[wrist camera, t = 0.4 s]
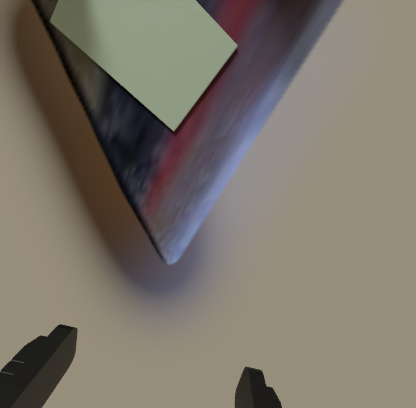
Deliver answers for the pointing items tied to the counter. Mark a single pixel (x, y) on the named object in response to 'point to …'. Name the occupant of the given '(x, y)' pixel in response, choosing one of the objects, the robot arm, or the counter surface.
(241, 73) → the counter surface
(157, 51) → the green mat
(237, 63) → the counter surface
